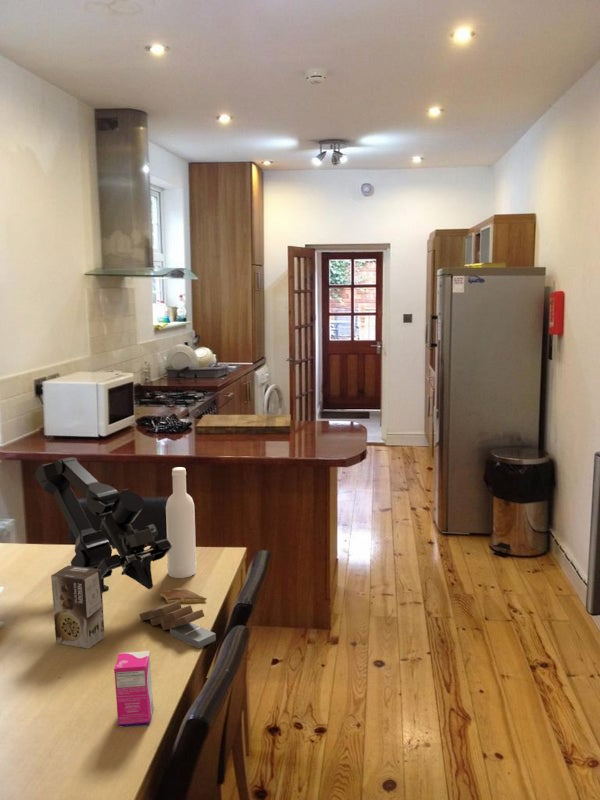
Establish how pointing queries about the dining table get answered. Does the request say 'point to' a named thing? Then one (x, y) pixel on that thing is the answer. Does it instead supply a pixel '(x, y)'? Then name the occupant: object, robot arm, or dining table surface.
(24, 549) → the dining table surface
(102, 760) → the dining table surface
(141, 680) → the supplement box
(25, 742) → the dining table surface
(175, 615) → the domino
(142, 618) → the domino
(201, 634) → the domino
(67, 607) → the coffee box
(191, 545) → the bottle
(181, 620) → the domino
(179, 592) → the shard
